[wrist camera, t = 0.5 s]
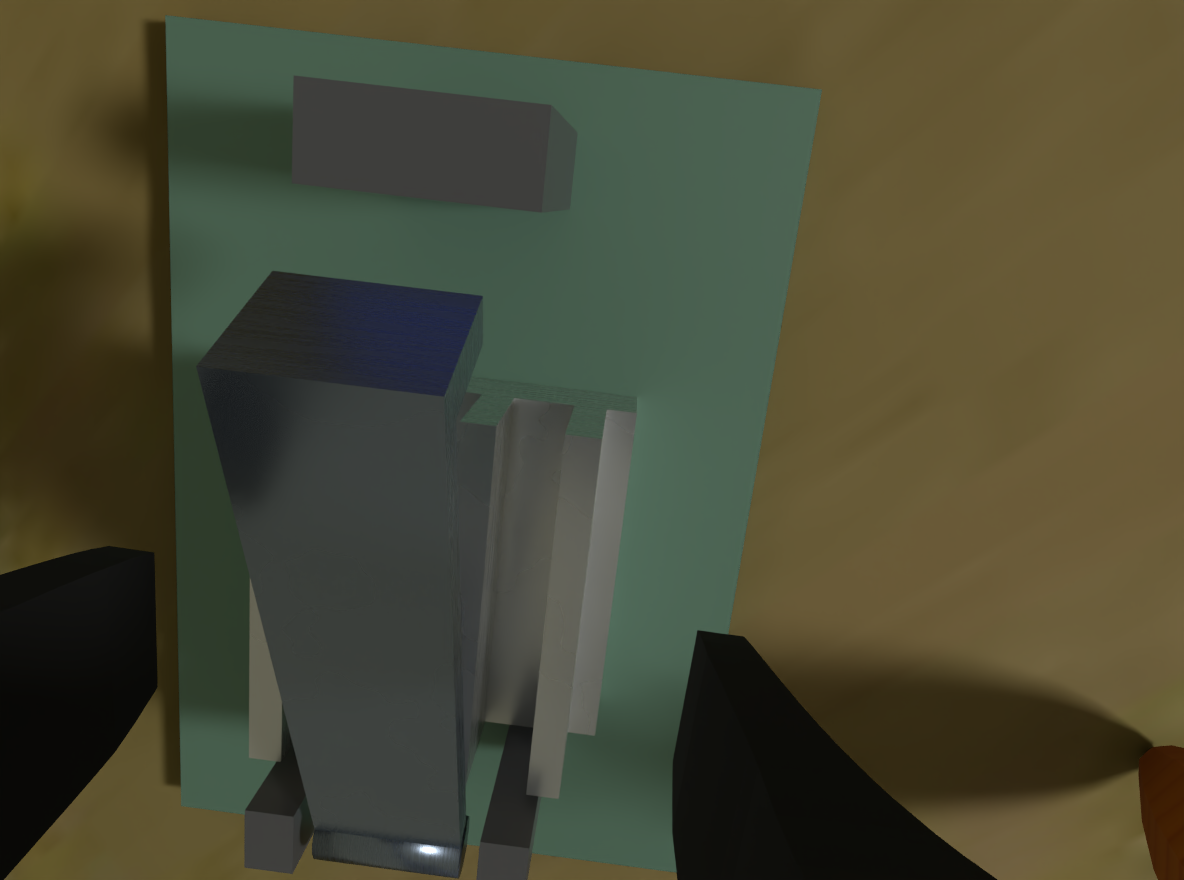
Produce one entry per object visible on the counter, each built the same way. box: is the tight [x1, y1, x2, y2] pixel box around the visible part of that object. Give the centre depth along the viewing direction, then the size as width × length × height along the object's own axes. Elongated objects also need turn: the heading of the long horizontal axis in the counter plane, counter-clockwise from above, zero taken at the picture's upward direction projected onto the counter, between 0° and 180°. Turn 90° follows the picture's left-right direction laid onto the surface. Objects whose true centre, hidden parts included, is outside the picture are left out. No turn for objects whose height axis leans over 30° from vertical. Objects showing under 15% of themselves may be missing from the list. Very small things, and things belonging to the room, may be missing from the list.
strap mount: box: [245, 75, 578, 880], centre depth 18 cm, size 15×6×6 cm, turn 174°
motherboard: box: [165, 15, 822, 873], centre depth 21 cm, size 20×14×1 cm
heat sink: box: [249, 377, 637, 799], centre depth 19 cm, size 8×8×4 cm
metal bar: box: [196, 271, 483, 878], centre depth 15 cm, size 13×3×3 cm, turn 174°
